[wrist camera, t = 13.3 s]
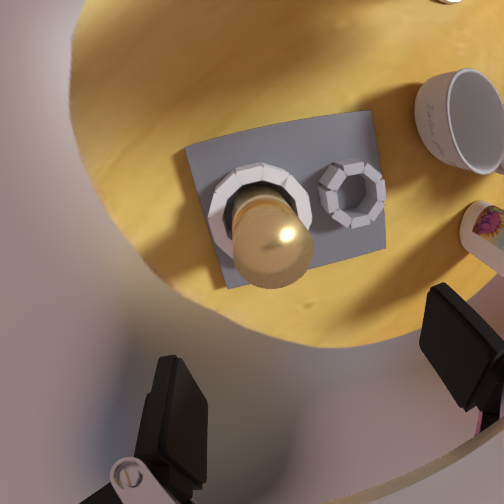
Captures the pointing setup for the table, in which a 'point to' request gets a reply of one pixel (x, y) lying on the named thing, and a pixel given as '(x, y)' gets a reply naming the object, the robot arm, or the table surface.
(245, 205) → the gold cylindrical peg
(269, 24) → the table surface
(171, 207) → the table surface
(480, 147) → the teacup
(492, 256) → the milk bottle
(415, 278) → the table surface
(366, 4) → the table surface
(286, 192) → the collar board
